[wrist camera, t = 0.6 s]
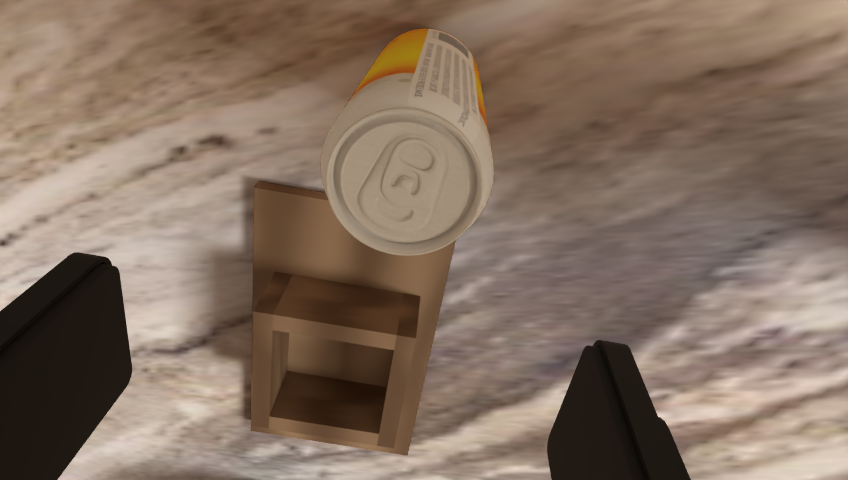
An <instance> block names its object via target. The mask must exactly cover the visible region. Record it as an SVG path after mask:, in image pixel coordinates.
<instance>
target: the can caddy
mask: <svg viewBox="0 0 848 480" xmlns="http://www.w3.org/2000/svg"><path fill="white" fill-rule="evenodd" d="M454 245H455V241H453V242H452V243H451V244H449V245H447V246H445V247H443V248H441V249H439V250H436V251H433V252H430V253H426V254H421V255H411V256H404V255H394V254H389V253H384V252H381V251H378V250H376V249H373V248H371V247H369V246H367V245H365V244H364V243H362V242H360V241H359V240H358V239H356V238H355V237H354V236H352V235H351V234H350V233H349V232H348V231H347V230H346V229H345V228H344V227H343V226H342V224H341V223H340V222H339V220H338V219H337V217H336V216H335V214H334V212H333V210H332V208H331V205H330V203H329V200H328V197H327V195H326V193H323V192H318V191H312V190H306V189H300V188H295V187H289V186H283V185H277V184H272V183H266V182H260V181H259V182H258V183H257V185H256V186H255V187H254V235H253V311H252V386H251V431H256V432H263V433H269V434H275V435H282V436H288V437H294V438H300V439H307V440H313V441H319V442H326V443H332V444H338V445H344V446H351V447H357V448H363V449H370V450H376V451H382V452H389V453H395V454H401V455H408V451H409V446H410V442H411V437H412V433H413V428H414V424H415V419H416V415H417V410H418V406H419V401H420V397H421V392H422V388H423V383H424V379H425V374H426V370H427V366H428V361H429V357H430V352H431V348H432V343H433V339H434V334H435V330H436V325H437V321H438V316H439V312H440V307H441V303H442V298H443V294H444V290H445V285H446V281H447V276H448V272H449V267H450V263H451V258H452V254H453V249H454Z"/></svg>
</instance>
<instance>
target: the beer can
mask: <svg viewBox="0 0 848 480" xmlns="http://www.w3.org/2000/svg"><path fill="white" fill-rule="evenodd" d="M321 176H322V182H323V186H324V189H325V192H326V195H327V197H328V200H329V203H330V205H331V208H332V210H333V212H334V214H335V216H336V217H337V219H338V220H339V222H340V223H341V224H342V226H343V227H344V228H345V229H346V230H347V231H348V232H349V233H350V234H351V235H352V236H354V237H355V238H356V239H358V240H359V241H360V242H362V243H364V244H365V245H367V246H369V247H371V248H373V249H376V250H378V251H381V252H384V253H389V254H394V255H404V256H411V255H421V254H426V253H430V252H433V251H436V250H439V249H441V248H443V247H445V246H447V245H449V244H451V243H452V242H453V241H455V240H456V239H457V238H459V237H460V236H461V235H462V234H463V233H464V232H465V231H466V230H467V229H468V228H469V227H470V226H471V225H472V224H473V223H474V222H475V221H476V219H477V218H478V217H479V215H480V214H481V213H482V211H483V209H484V207H485V206H486V204H487V201H488V199H489V196H490V193H491V189H492V185H493V177H494V166H493V158H492V152H491V145H490V139H489V132H488V126H487V120H486V113H485V107H484V100H483V94H482V88H481V81H480V75H479V70H478V67H477V64H476V62H475V60H474V58H473V56H472V54H471V53H470V51H469V50H468V49H467V48H466V46H465V45H464V44H463V43H462V42H460V41H459V40H458V39H456V38H455V37H454V36H452V35H450V34H448V33H445V32H443V31H439V30H435V29H416V30H412V31H408V32H406V33H403V34H401V35H399V36H398V37H396V38H395V39H393V40H392V41H391V42H390V43H389V44H387V46H386V47H385V48H384V49H383V50H382V52H381V53H380V55H379V56H378V58H377V59H376V61H375V62H374V64H373V65H372V67H371V68H370V70H369V71H368V73H367V74H366V76H365V77H364V79H363V80H362V82H361V83H360V85H359V86H358V88H357V89H356V91H355V92H354V94H353V95H352V97H351V98H350V100H349V101H348V103H347V104H346V106H345V107H344V109H343V110H342V112H341V113H340V115H339V116H338V118H337V119H336V121H335V122H334V124H333V125H332V127H331V128H330V130H329V132H328V134H327V136H326V139H325V142H324V145H323V149H322V154H321Z"/></svg>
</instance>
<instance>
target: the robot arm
mask: <svg viewBox="0 0 848 480" xmlns="http://www.w3.org/2000/svg"><path fill="white" fill-rule="evenodd" d="M131 374H132V363H131V356H130V349H129V341H128V334H127V326H126V319H125V311H124V304H123V296H122V289H121V281H120V274H119V270H118V268H117V267H115V266H112V264H111V261H110V260H109V259H108V258H106V257H102V256H96V255H90V254H84V253H78V252H77V253H73V254H71V255H69V256H68V257H67V258H65V259H64V260H63V261H62V262H61V263H59V264H58V265H57V266H56V267H54V268H53V269H52V270H51V271H49V272H48V273H47V274H46V275H44V276H43V277H42V278H41V279H40V280H38V281H37V282H36V283H35V284H33V285H32V286H31V287H30V288H28V289H27V290H26V291H25V292H24V293H22V294H21V295H20V296H19V297H17V298H16V299H15V300H14V301H12V302H11V303H10V304H9V305H7V306H6V307H5V308H4V309H3V310H1V311H0V480H57V479H58V478H59V477H60V475H61V474H62V473H63V471H64V470H65V469H66V467H67V466H68V465H69V463H70V462H71V461H72V459H73V458H74V457H75V455H76V454H77V453H78V451H79V450H80V448H81V447H82V446H83V444H84V443H85V442H86V440H87V439H88V438H89V436H90V435H91V434H92V432H93V431H94V430H95V428H96V427H97V426H98V424H99V423H100V422H101V420H102V419H103V418H104V416H105V415H106V414H107V412H108V411H109V410H110V408H111V407H112V406H113V404H114V403H115V401H116V400H117V399H118V397H119V396H120V395H121V393H122V392H123V391H124V389H125V388H126V387H127V385H128V383H129V381H130V378H131ZM547 453H548V460H549V466H550V472H551V478H552V480H691V479H690V477H689V475H688V472H687V470H686V468H685V465H684V463H683V461H682V458H681V456H680V453H679V451H678V449H677V446H676V444H675V442H674V439H673V437H672V435H671V432H670V430H669V428H668V426H667V424H666V423H665V421H664V420H662V419H661V418H660V417H658V416H657V413H656V411H655V409H654V406H653V404H652V401H651V399H650V396H649V394H648V392H647V389H646V387H645V384H644V382H643V379H642V377H641V375H640V372H639V370H638V367H637V365H636V362H635V360H634V358H633V355H632V353H631V350H630V348H629V347H628V346H627V345H626V344H620V343H614V342H608V341H602V340H598V341H596V342H595V343H594V345H593V346H586V347H585V348H584V350H583V352H582V355H581V357H580V360H579V363H578V365H577V368H576V370H575V373H574V375H573V378H572V380H571V383H570V385H569V388H568V390H567V393H566V395H565V398H564V400H563V403H562V405H561V408H560V410H559V413H558V415H557V418H556V420H555V423H554V425H553V428H552V430H551V433H550V435H549V439H548V446H547Z"/></svg>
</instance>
